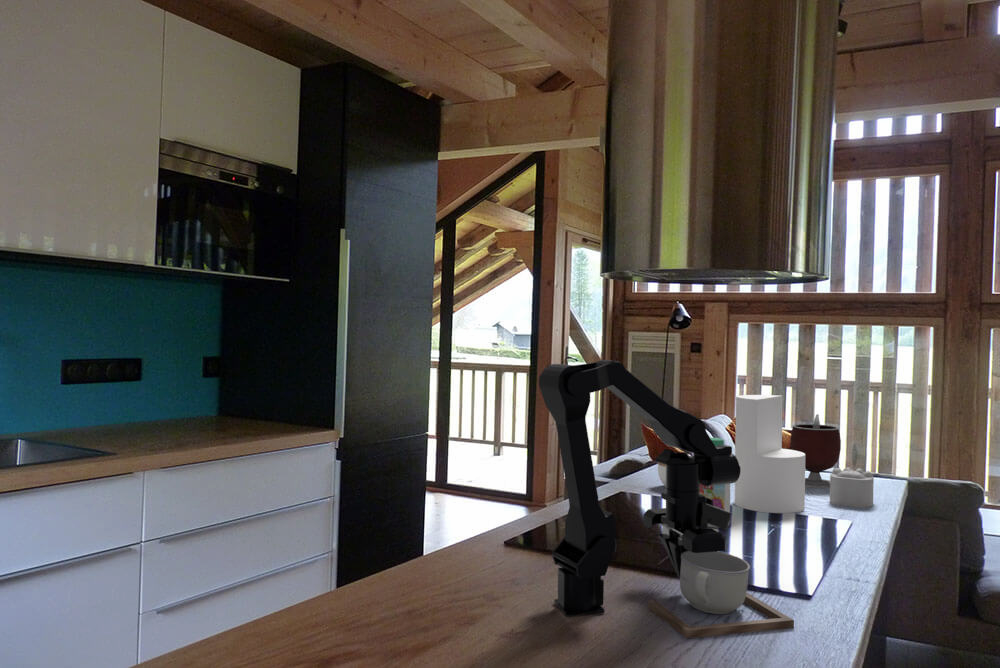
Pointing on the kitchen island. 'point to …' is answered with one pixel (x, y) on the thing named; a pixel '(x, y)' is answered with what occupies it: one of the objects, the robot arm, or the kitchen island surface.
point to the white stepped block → (766, 458)
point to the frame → (774, 623)
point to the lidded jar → (662, 472)
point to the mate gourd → (817, 449)
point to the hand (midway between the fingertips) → (682, 578)
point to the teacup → (713, 581)
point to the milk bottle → (717, 490)
